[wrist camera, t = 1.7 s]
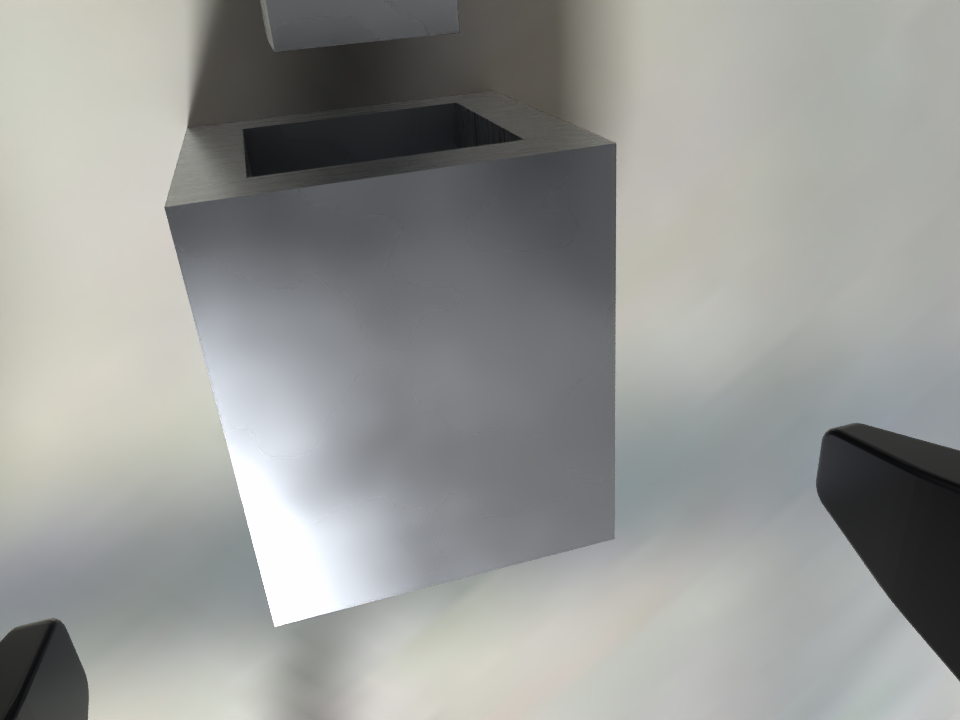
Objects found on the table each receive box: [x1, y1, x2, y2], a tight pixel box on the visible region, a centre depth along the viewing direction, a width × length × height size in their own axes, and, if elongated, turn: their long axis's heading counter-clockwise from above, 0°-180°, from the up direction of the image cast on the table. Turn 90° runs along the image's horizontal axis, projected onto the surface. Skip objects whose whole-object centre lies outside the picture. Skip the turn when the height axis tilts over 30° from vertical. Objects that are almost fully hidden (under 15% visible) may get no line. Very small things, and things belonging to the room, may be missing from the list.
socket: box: [165, 91, 616, 626], centre depth 14 cm, size 7×6×6 cm
